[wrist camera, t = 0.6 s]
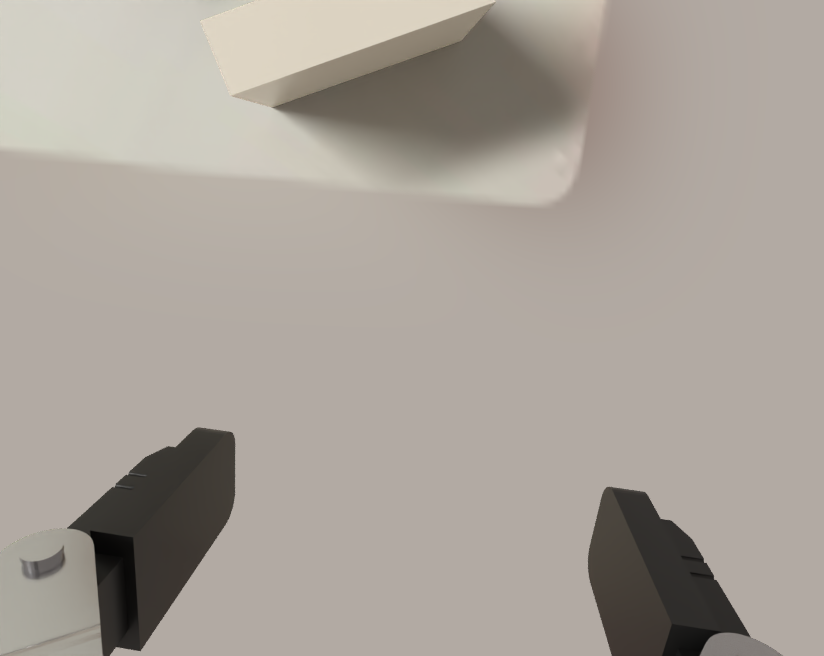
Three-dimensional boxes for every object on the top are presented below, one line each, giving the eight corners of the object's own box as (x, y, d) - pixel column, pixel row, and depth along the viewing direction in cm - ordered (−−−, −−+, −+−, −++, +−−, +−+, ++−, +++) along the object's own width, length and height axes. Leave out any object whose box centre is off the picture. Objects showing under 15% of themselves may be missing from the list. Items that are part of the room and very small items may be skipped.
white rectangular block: (272, 107, 33) (230, 95, 23) (252, 55, 32) (199, 20, 22) (460, 41, 32) (495, 1, 23) (446, -15, 31) (476, -80, 22)
